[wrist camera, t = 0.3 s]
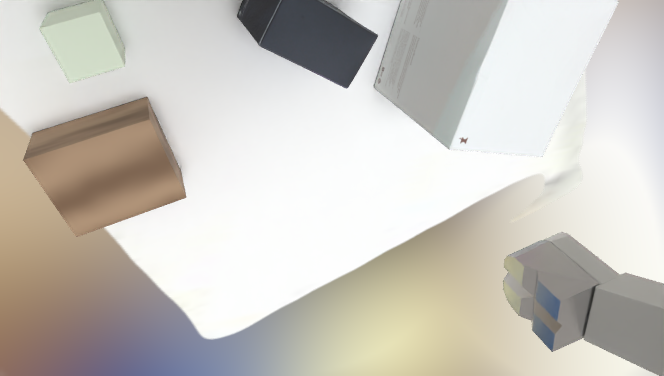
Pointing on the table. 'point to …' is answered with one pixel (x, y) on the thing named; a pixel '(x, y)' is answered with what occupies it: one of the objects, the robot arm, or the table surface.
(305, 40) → the small box
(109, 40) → the sage block
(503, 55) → the supplement box
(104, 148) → the walnut block
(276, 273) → the table surface
